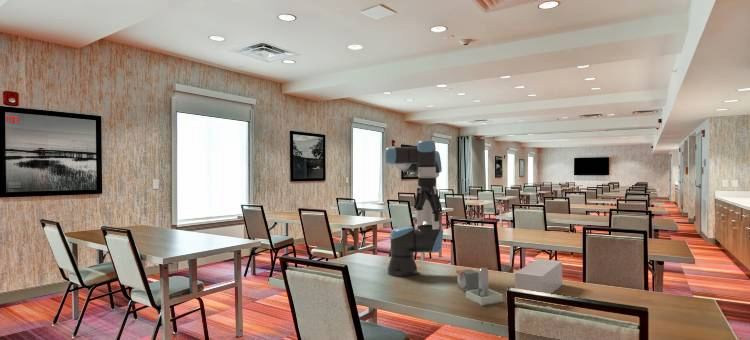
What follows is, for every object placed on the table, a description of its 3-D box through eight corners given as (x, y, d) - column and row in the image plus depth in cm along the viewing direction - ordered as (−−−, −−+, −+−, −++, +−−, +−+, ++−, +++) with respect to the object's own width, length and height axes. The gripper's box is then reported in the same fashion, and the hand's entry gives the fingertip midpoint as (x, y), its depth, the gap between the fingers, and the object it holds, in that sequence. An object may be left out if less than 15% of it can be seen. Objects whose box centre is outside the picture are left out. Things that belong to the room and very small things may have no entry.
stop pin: (476, 298, 176) (475, 268, 176) (484, 296, 178) (483, 267, 178) (483, 300, 173) (482, 270, 173) (491, 299, 174) (490, 269, 174)
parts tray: (466, 298, 178) (465, 291, 178) (486, 295, 182) (486, 288, 182) (481, 305, 169) (481, 298, 168) (503, 302, 172) (503, 294, 172)
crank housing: (454, 289, 192) (454, 269, 192) (470, 286, 195) (469, 267, 195) (463, 293, 185) (463, 272, 185) (479, 291, 188) (479, 270, 188)
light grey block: (538, 281, 203) (537, 258, 203) (562, 285, 197) (562, 261, 196) (515, 299, 177) (514, 272, 177) (542, 303, 171) (541, 276, 171)
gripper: (405, 176, 195) (406, 224, 195) (433, 178, 171) (434, 231, 172) (420, 176, 197) (421, 223, 198) (450, 177, 174) (451, 230, 175)
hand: (427, 227), depth 185 cm, fingers open, 13 cm apart
